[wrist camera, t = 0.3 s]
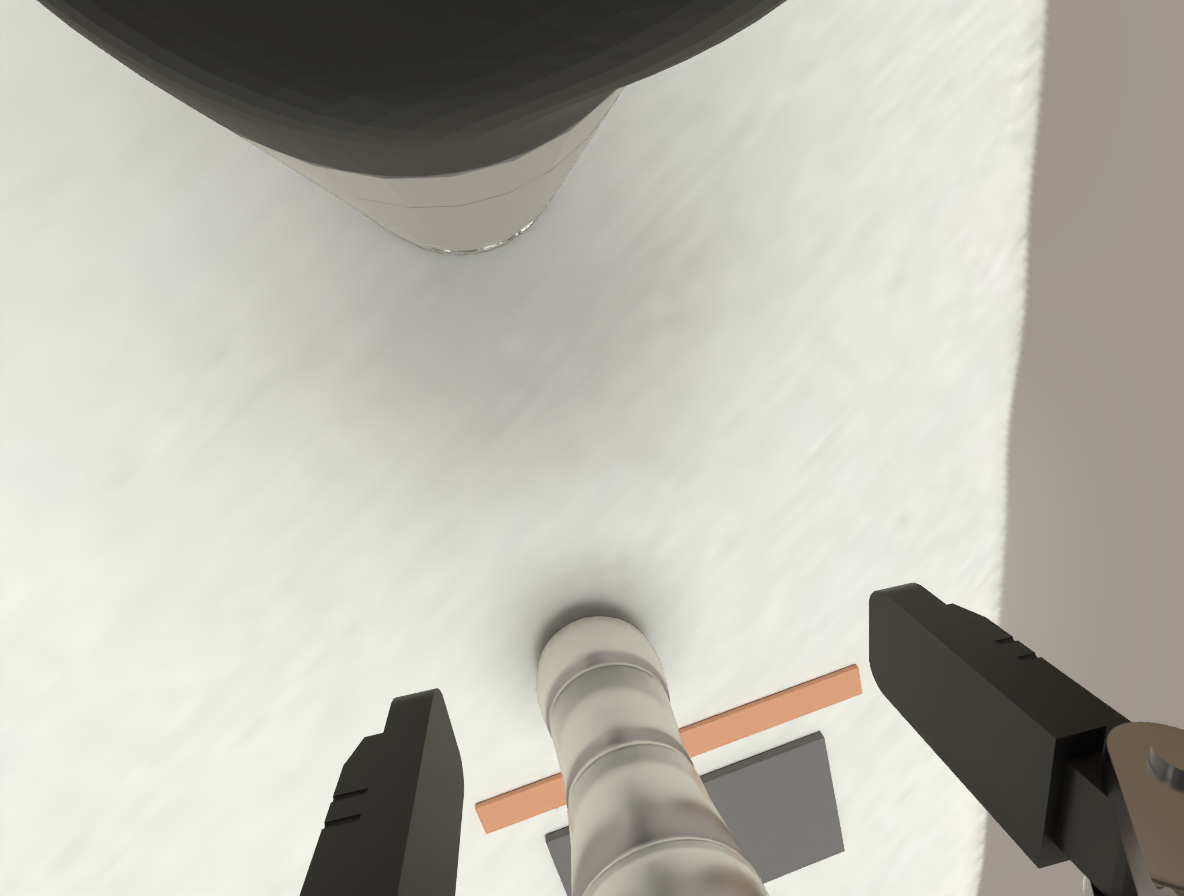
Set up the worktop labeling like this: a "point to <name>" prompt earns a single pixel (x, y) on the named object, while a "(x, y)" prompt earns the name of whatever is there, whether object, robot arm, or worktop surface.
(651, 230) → the worktop surface
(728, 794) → the mat
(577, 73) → the robot arm
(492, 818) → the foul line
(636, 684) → the plastic bottle
